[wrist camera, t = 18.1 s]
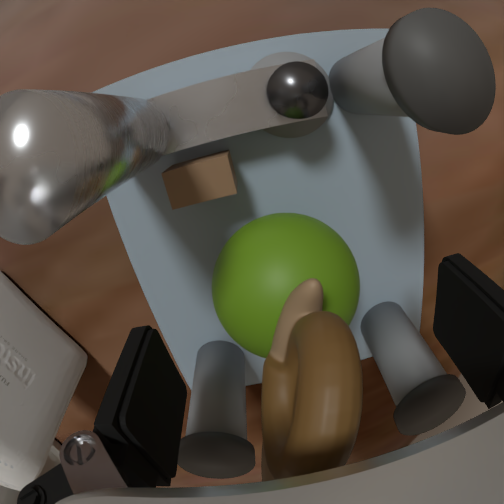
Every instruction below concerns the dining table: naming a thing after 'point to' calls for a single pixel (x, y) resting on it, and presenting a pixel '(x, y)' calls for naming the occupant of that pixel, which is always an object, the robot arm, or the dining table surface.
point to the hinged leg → (128, 137)
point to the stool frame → (306, 210)
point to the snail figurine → (296, 336)
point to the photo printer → (31, 384)
